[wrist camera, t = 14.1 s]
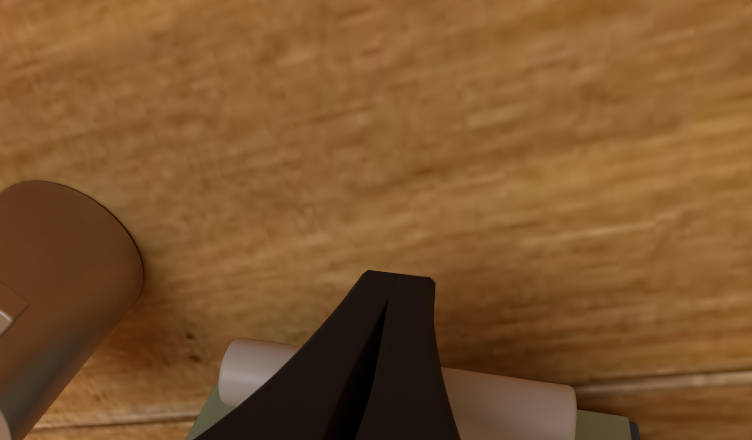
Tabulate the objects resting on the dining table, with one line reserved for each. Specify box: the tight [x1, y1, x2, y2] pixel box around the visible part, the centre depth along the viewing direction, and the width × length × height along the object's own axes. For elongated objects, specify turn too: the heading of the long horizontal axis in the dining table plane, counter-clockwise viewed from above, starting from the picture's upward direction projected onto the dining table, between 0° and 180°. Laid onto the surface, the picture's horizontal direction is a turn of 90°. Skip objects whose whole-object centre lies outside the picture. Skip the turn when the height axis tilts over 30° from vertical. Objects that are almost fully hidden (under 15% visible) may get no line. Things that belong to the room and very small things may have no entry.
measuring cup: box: [0, 181, 144, 440], centre depth 17 cm, size 7×5×6 cm
